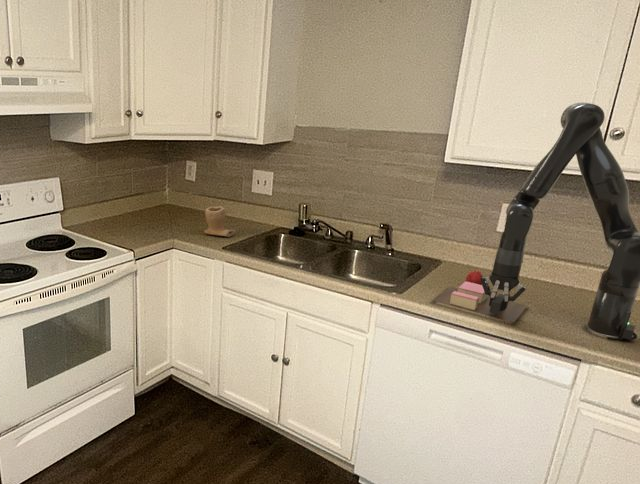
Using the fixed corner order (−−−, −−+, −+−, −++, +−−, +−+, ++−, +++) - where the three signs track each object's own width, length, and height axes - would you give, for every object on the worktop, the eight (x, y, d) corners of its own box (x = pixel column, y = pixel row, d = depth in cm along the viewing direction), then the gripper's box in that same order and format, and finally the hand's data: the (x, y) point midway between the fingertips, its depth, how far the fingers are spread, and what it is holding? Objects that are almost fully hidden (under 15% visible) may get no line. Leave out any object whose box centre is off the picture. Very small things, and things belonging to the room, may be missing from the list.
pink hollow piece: (199, 235, 268) (200, 207, 263) (210, 230, 278) (211, 203, 273) (226, 240, 260) (227, 211, 256) (236, 235, 270) (238, 207, 265)
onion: (465, 284, 205) (469, 265, 203) (482, 288, 202) (486, 268, 199) (463, 288, 201) (466, 269, 199) (480, 292, 197) (484, 272, 195)
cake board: (526, 308, 184) (527, 305, 184) (513, 325, 170) (513, 322, 170) (450, 289, 201) (450, 286, 200) (432, 303, 187) (432, 300, 187)
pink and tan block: (477, 307, 181) (479, 297, 180) (474, 310, 179) (476, 299, 178) (452, 301, 186) (454, 291, 185) (449, 303, 184) (451, 293, 183)
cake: (487, 297, 191) (490, 287, 189) (480, 303, 184) (483, 293, 183) (463, 291, 196) (465, 281, 195) (456, 297, 190) (458, 287, 189)
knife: (497, 314, 173) (499, 303, 172) (489, 312, 174) (491, 301, 173) (511, 298, 186) (513, 288, 185) (503, 296, 187) (505, 286, 186)
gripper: (481, 258, 174) (471, 306, 179) (530, 269, 165) (518, 318, 170) (487, 253, 179) (477, 300, 184) (535, 263, 170) (523, 312, 175)
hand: (497, 308), depth 177 cm, fingers closed on knife, 2 cm apart
